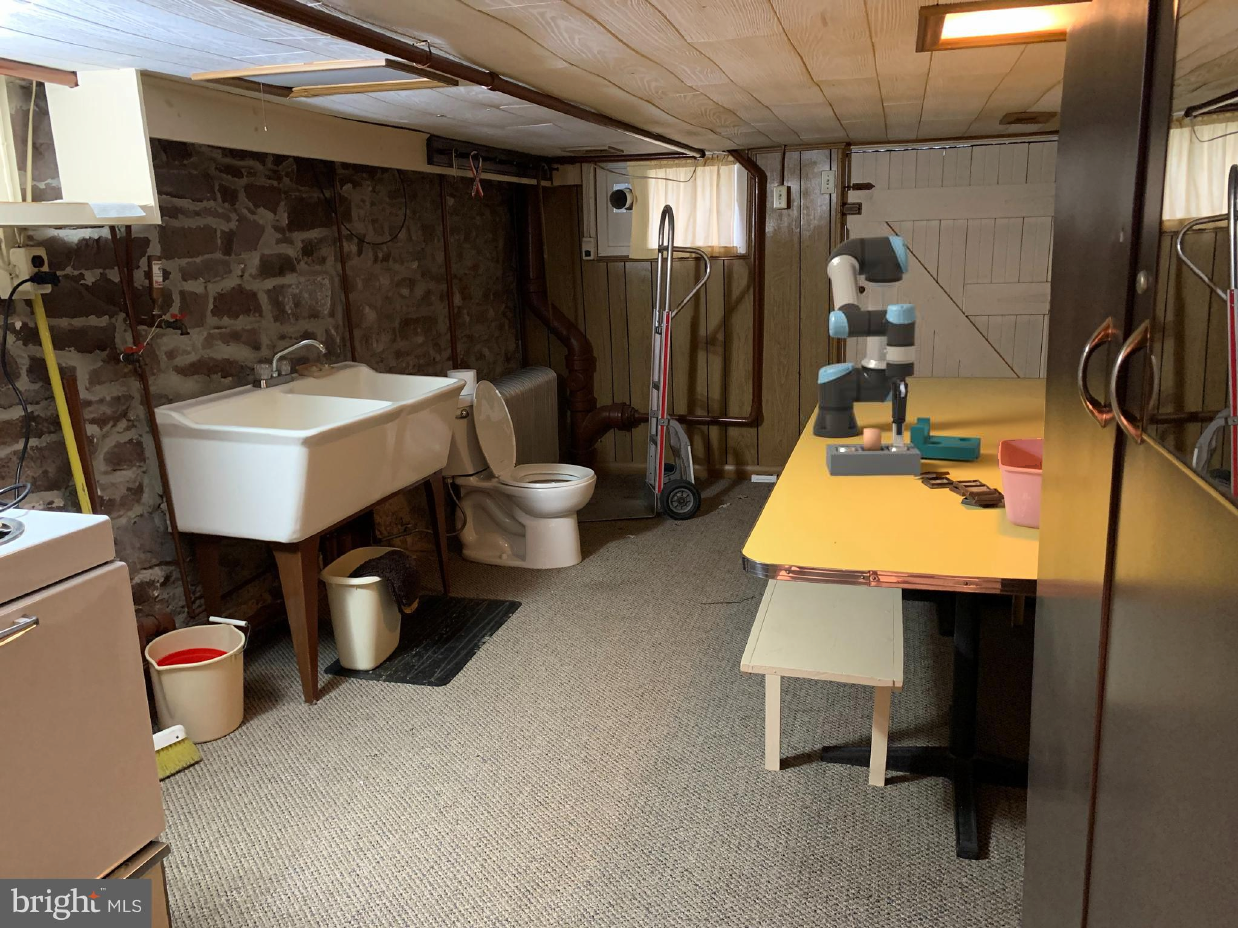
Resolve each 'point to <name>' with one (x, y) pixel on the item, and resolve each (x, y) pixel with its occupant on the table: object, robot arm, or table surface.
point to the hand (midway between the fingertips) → (897, 445)
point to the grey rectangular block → (872, 461)
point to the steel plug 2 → (897, 448)
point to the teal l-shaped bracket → (942, 443)
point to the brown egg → (872, 439)
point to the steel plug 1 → (846, 448)
